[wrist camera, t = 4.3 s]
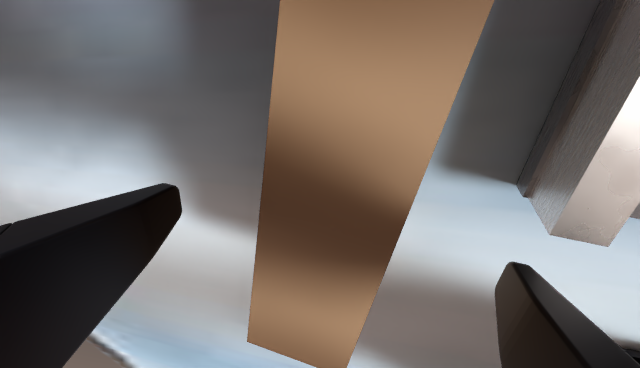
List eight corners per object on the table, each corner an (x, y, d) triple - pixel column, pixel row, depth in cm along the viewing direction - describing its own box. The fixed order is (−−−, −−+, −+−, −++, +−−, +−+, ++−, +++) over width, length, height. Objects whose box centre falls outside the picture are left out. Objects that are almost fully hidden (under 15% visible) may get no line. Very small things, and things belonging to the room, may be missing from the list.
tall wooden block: (366, 256, 18) (342, 376, 12) (299, 235, 19) (247, 341, 13) (467, -37, 11) (527, -84, 5) (355, -58, 12) (292, -123, 6)
